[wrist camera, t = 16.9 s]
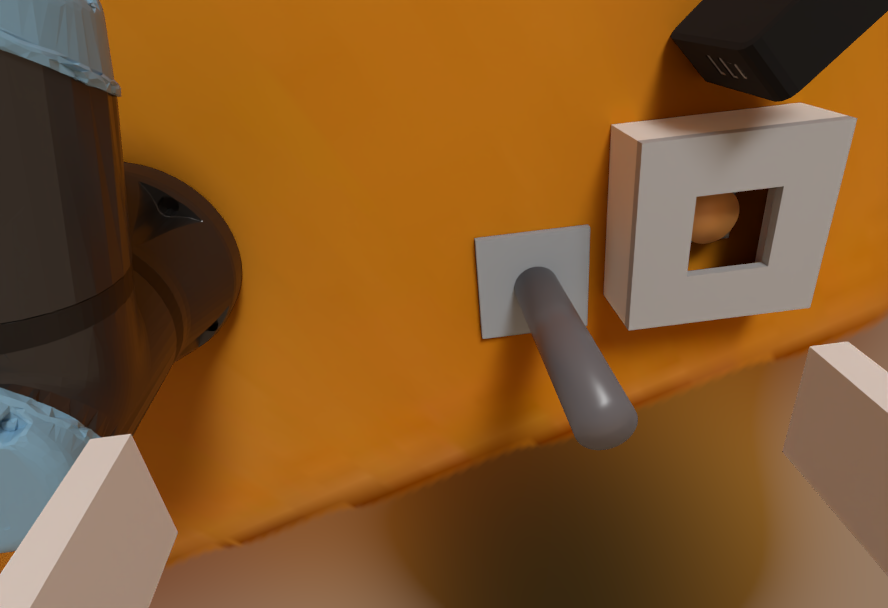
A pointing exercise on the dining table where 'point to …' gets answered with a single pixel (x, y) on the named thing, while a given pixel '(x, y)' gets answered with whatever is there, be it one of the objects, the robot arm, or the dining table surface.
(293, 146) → the dining table surface
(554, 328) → the stylus
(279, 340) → the dining table surface
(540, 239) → the pad
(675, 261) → the box
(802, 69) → the electronic device
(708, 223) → the button
